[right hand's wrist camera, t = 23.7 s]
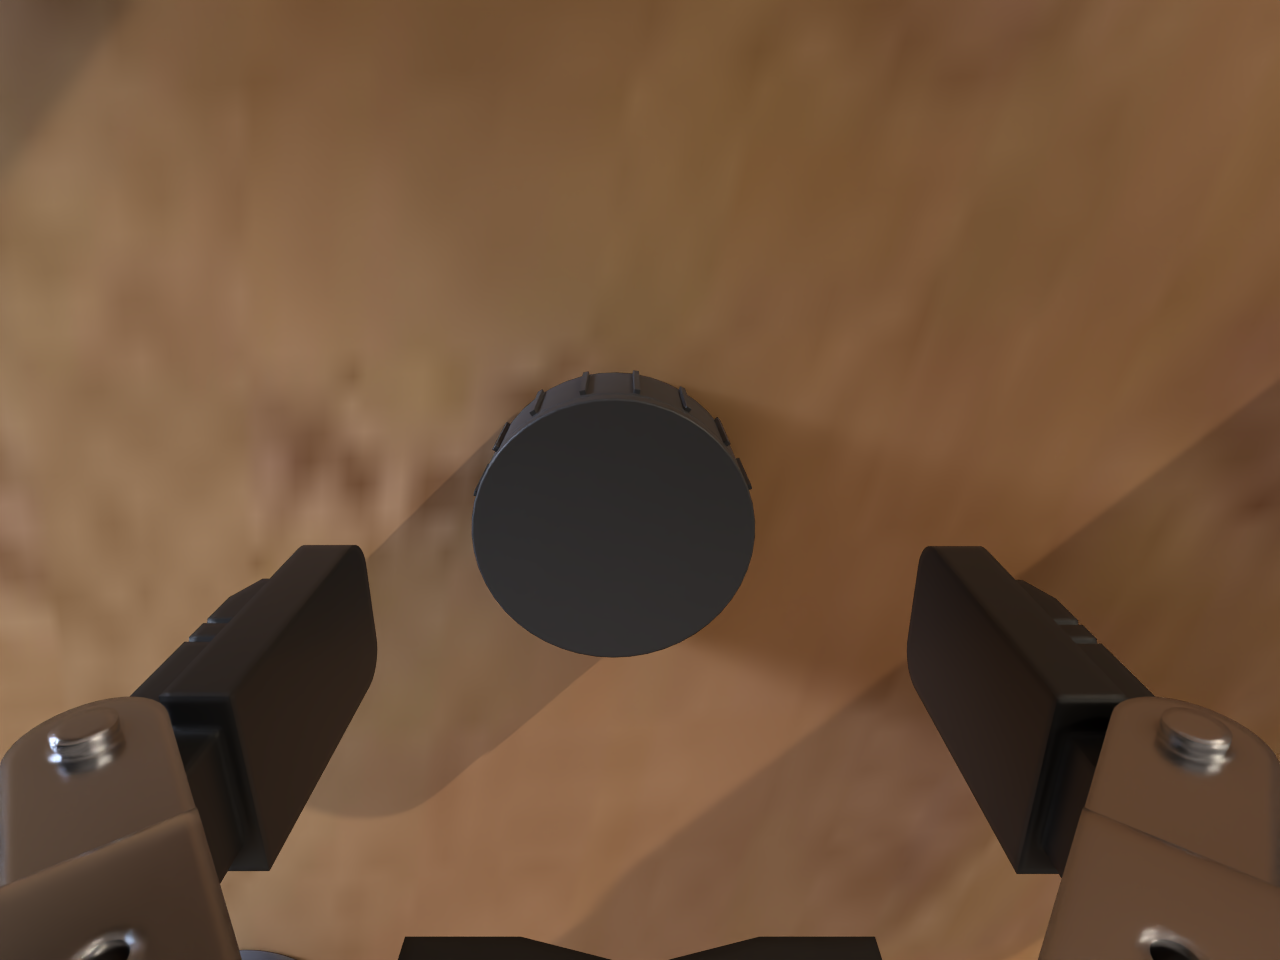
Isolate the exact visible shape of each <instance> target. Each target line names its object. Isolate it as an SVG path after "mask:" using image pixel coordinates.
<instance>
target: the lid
mask: <svg viewBox="0 0 1280 960" xmlns="http://www.w3.org/2000/svg"><path fill="white" fill-rule="evenodd" d="M492 450H494V451H495V453H494V455H493V457H492V459H491V462H490V464H488V465H487V467H486V469H485V471H484V473H483V475H482V477H481V479H480V481H479V483H478V485H477V487H476V489H475V491H474V496H476V498H475V501H474V508H473V514H472V540H473V548H474V553H475V557H476V560H477V564H478V567H479V570H480V572H481V574H482V577H483V579H484V581H485V583H486V585H487V587H488V588H489V590H490V592H491V593H492V595H493V596H494V598H495V599H496V601H497V602H498V603H499V604H500V606H501V607H502V608H503V609H504V610H505V612H506V613H507V614H509V615H510V616H511V617H512V618H513V619H514V620H515V621H516V622H517V623H518V624H519V625H521V626H522V627H523V628H525V629H526V630H527V631H529V632H530V633H532V634H533V635H535V636H537V637H539V638H540V639H542V640H544V641H546V642H548V643H550V644H552V645H555V646H557V647H559V648H562V649H565V650H569V651H572V652H575V653H579V654H585V655H590V656H597V657H631V656H637V655H643V654H648V653H652V652H655V651H659V650H662V649H665V648H668V647H670V646H672V645H675V644H677V643H680V642H681V641H683V640H685V639H687V638H689V637H690V636H692V635H694V634H695V633H697V632H698V631H700V630H701V629H702V628H704V627H705V626H706V625H708V624H709V623H710V622H711V621H712V620H713V619H714V618H715V617H716V616H718V615H719V614H720V613H721V612H722V610H723V609H724V608H725V607H726V605H727V604H728V603H729V602H730V601H731V599H732V598H733V596H734V595H735V593H736V591H737V590H738V588H739V587H740V585H741V583H742V581H743V579H744V576H745V574H746V572H747V570H748V566H749V563H750V560H751V556H752V552H753V545H754V539H755V518H754V510H753V503H752V500H751V496H750V493H749V490H750V489H752V487H751V484H750V481H749V479H748V477H747V475H746V472H745V470H744V468H743V466H742V463H741V461H740V459H739V458H735V456H734V454H733V451H732V449H731V447H730V442H729V439H728V437H727V435H726V432H725V430H724V428H723V426H722V423H721V421H720V420H719V418H718V417H717V418H716V419H713V417H712V416H711V415H710V414H709V413H708V412H707V411H706V410H705V409H704V408H703V407H702V406H701V405H700V404H699V403H698V402H696V401H695V400H694V399H693V398H691V397H690V396H688V395H687V393H686V390H685V388H683V387H680V388H679V389H677V388H675V387H673V386H671V385H669V384H667V383H664V382H662V381H659V380H656V379H653V378H650V377H646V376H641V375H639V371H633V374H628V373H598V374H593V375H589V372H584V373H583V376H582V377H579V378H575V379H572V380H569V381H566V382H564V383H562V384H560V385H557V386H555V387H553V388H551V389H549V390H548V391H546V392H544V391H543V390H540V391H539V392H538V393H537V396H536V398H535V399H534V400H533V401H532V402H531V403H530V404H529V405H527V406H526V407H525V408H524V409H523V410H522V411H521V412H520V413H519V415H518V416H517V417H516V418H515V419H514V420H513V421H512V423H511V424H510V423H508V422H507V423H506V424H505V426H504V428H503V430H502V432H501V433H500V435H499V437H498V439H497V441H496V443H495V445H494V447H493V449H492Z"/></svg>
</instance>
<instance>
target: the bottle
mask: <svg viewBox="0 0 1280 960" xmlns="http://www.w3.org/2000/svg"><path fill="white" fill-rule="evenodd" d="M239 951H240V954H241V958H242V960H296V959H294V958H291V957H287V956H284V955H281V954H277V953H272V952H266V951H258V950H239Z"/></svg>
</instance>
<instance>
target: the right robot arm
mask: <svg viewBox="0 0 1280 960" xmlns="http://www.w3.org/2000/svg"><path fill="white" fill-rule="evenodd" d="M1096 640H1097V639H1096V638H1095V637H1094V636H1093V635H1092V634H1091V633H1090V632H1089V631H1088V630H1087V629H1086V628H1085V627H1084V626H1083V625H1078V620H1077V619H1076V618H1075V617H1074V616H1073V615H1072V614H1071V613H1070V612H1069V611H1068V610H1067V609H1066V608H1065V607H1064V606H1063V605H1062V604H1061V603H1060V602H1059V601H1058V600H1057V599H1056V598H1054V597H1052V596H1050V595H1048V594H1046V593H1045V592H1043V591H1041V590H1039V589H1037V588H1036V587H1034V586H1032V585H1030V584H1028V583H1027V582H1025V581H1023V580H1015V579H1014V578H1013V577H1012V576H1011V575H1010V574H1009V573H1008V572H1007V571H1006V570H1005V569H1004V568H1003V567H1002V566H1001V564H1000V563H999V562H998V561H997V560H996V559H995V558H994V557H993V556H992V555H991V554H990V553H989V552H988V551H987V550H986V549H985V548H984V547H981V546H928V547H926V548H925V549H924V550H923V552H922V554H921V556H920V560H919V564H918V571H917V578H916V585H915V592H914V599H913V605H912V612H911V619H910V626H909V633H908V641H907V661H908V668H909V673H910V677H911V680H912V683H913V685H914V688H915V689H916V691H917V693H918V695H919V697H920V699H921V700H922V702H923V704H924V706H925V708H926V710H927V711H928V713H929V715H930V717H931V719H932V720H933V722H934V724H935V726H936V728H937V730H938V731H939V733H940V735H941V737H942V739H943V740H944V742H945V744H946V746H947V748H948V750H949V751H950V753H951V755H952V757H953V759H954V760H955V762H956V764H957V766H958V768H959V770H960V771H961V773H962V775H963V777H964V779H965V781H966V782H967V784H968V786H969V788H970V790H971V791H972V793H973V795H974V797H975V799H976V801H977V802H978V804H979V806H980V808H981V810H982V811H983V813H984V815H985V817H986V819H987V821H988V822H989V824H990V826H991V828H992V830H993V831H994V833H995V835H996V837H997V839H998V841H999V842H1000V844H1001V846H1002V848H1003V850H1004V852H1005V853H1006V855H1007V857H1008V859H1009V861H1010V862H1011V864H1012V866H1013V868H1014V870H1015V872H1016V873H1017V874H1059V875H1060V877H1061V878H1062V880H1061V883H1060V886H1059V890H1058V893H1057V897H1056V900H1055V903H1054V907H1053V910H1052V914H1051V917H1050V920H1049V924H1048V927H1047V931H1046V934H1045V937H1044V941H1043V944H1042V948H1041V951H1040V955H1039V958H1038V960H1280V763H1279V761H1278V759H1277V757H1276V755H1275V754H1274V752H1273V751H1272V750H1271V749H1270V747H1269V746H1268V745H1267V744H1266V743H1265V742H1264V741H1263V740H1261V739H1260V738H1259V737H1258V736H1257V735H1255V734H1254V733H1253V732H1251V731H1250V730H1249V729H1247V728H1245V727H1244V726H1242V725H1241V724H1239V723H1237V722H1235V721H1234V720H1232V719H1230V718H1228V717H1226V716H1224V715H1222V714H1219V713H1217V712H1215V711H1212V710H1210V709H1207V708H1204V707H1201V706H1199V705H1195V704H1192V703H1188V702H1185V701H1180V700H1175V699H1170V698H1162V697H1155V696H1154V695H1153V694H1152V693H1151V692H1150V691H1149V690H1148V689H1147V688H1146V687H1145V686H1144V685H1143V684H1142V683H1141V682H1140V681H1139V680H1138V679H1137V678H1136V677H1135V676H1134V675H1133V674H1132V673H1131V672H1130V671H1129V670H1128V669H1127V668H1126V667H1125V666H1124V665H1123V664H1122V663H1121V662H1120V661H1118V660H1117V659H1116V658H1115V657H1114V656H1113V655H1112V654H1111V653H1110V652H1109V651H1108V650H1107V649H1106V648H1105V647H1104V646H1103V645H1102V644H1097V641H1096ZM376 660H377V639H376V632H375V625H374V618H373V610H372V603H371V596H370V589H369V582H368V575H367V568H366V562H365V558H364V554H363V552H362V550H361V548H360V547H359V546H357V545H303V546H301V547H300V548H298V549H297V550H296V552H295V553H294V554H293V555H292V556H291V557H290V558H289V559H288V560H287V561H286V562H285V563H284V564H283V565H282V566H281V567H280V568H279V569H278V571H277V572H276V573H275V574H274V575H273V576H272V577H271V578H270V579H261V580H260V581H258V582H256V583H254V584H252V585H251V586H249V587H247V588H245V589H243V590H242V591H240V592H238V593H236V594H234V595H232V596H231V597H229V598H228V599H227V600H226V601H225V602H224V603H223V604H222V605H221V606H220V607H219V608H218V609H217V610H216V611H215V612H214V613H213V614H212V615H211V616H210V617H209V618H208V621H207V623H203V624H202V625H201V626H200V627H199V628H198V629H197V630H196V631H195V632H194V633H193V634H192V635H191V636H190V637H189V642H184V643H183V644H182V645H181V646H180V647H179V648H178V649H177V650H176V651H175V652H174V653H173V654H172V655H171V656H170V657H169V658H168V659H167V660H166V661H165V662H164V663H163V664H162V665H161V666H160V667H159V668H158V669H157V670H156V671H155V672H154V673H153V674H152V675H151V676H150V677H149V678H148V679H147V680H146V681H145V682H144V683H143V684H142V685H141V686H140V687H139V688H138V689H137V690H136V691H135V692H134V693H133V694H132V695H131V696H130V697H118V698H110V699H105V700H100V701H95V702H92V703H88V704H85V705H81V706H79V707H76V708H73V709H70V710H68V711H65V712H63V713H61V714H58V715H56V716H54V717H52V718H50V719H48V720H46V721H45V722H43V723H41V724H39V725H38V726H36V727H35V728H33V729H31V730H30V731H29V732H27V733H26V734H25V735H23V736H22V737H21V738H20V739H19V740H17V741H16V742H15V743H14V744H13V745H12V746H11V747H10V749H9V750H8V751H7V752H6V754H5V755H4V757H3V759H2V761H1V763H0V960H242V958H241V954H240V951H239V948H238V944H237V941H236V937H235V934H234V931H233V927H232V924H231V920H230V917H229V914H228V910H227V907H226V903H225V900H224V897H223V893H222V890H221V886H220V883H221V881H222V880H223V878H224V876H225V875H226V873H227V871H270V869H271V867H272V865H273V863H274V862H275V860H276V858H277V856H278V854H279V852H280V850H281V849H282V847H283V845H284V843H285V841H286V839H287V838H288V836H289V834H290V832H291V830H292V828H293V826H294V825H295V823H296V821H297V819H298V817H299V815H300V814H301V812H302V810H303V808H304V806H305V804H306V803H307V801H308V799H309V797H310V795H311V793H312V791H313V790H314V788H315V786H316V784H317V782H318V780H319V779H320V777H321V775H322V773H323V771H324V769H325V768H326V766H327V764H328V762H329V760H330V758H331V756H332V755H333V753H334V751H335V749H336V747H337V745H338V744H339V742H340V740H341V738H342V736H343V734H344V732H345V731H346V729H347V727H348V725H349V723H350V721H351V720H352V718H353V716H354V714H355V712H356V710H357V709H358V707H359V705H360V703H361V701H362V699H363V697H364V696H365V694H366V692H367V690H368V688H369V686H370V684H371V682H372V679H373V676H374V672H375V667H376ZM398 960H610V959H606V958H602V957H598V956H594V955H590V954H586V953H582V952H579V951H575V950H571V949H567V948H563V947H559V946H555V945H551V944H547V943H543V942H539V941H535V940H531V939H527V938H523V937H405V939H404V942H403V945H402V948H401V952H400V955H399V958H398ZM670 960H882V958H881V955H880V952H879V948H878V945H877V942H876V939H875V937H757V938H753V939H749V940H745V941H741V942H737V943H733V944H729V945H725V946H721V947H717V948H713V949H709V950H705V951H701V952H698V953H694V954H690V955H686V956H682V957H678V958H674V959H670Z"/></svg>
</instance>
